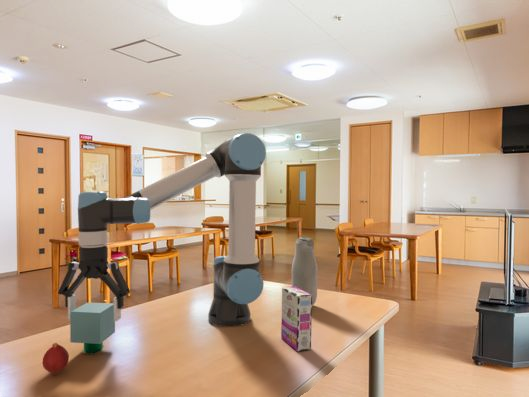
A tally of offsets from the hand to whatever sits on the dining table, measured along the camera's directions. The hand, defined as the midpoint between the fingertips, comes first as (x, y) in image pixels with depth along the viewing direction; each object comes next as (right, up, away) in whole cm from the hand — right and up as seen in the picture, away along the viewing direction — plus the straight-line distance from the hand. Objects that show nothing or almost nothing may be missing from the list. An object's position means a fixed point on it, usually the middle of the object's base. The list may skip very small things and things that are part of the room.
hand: (94, 319), depth 110 cm
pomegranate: (-4, -10, -14) cm, 17 cm away
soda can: (0, -9, 0) cm, 9 cm away
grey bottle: (+65, -9, +44) cm, 79 cm away
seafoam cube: (0, -5, 0) cm, 5 cm away
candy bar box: (+58, -10, +7) cm, 60 cm away
